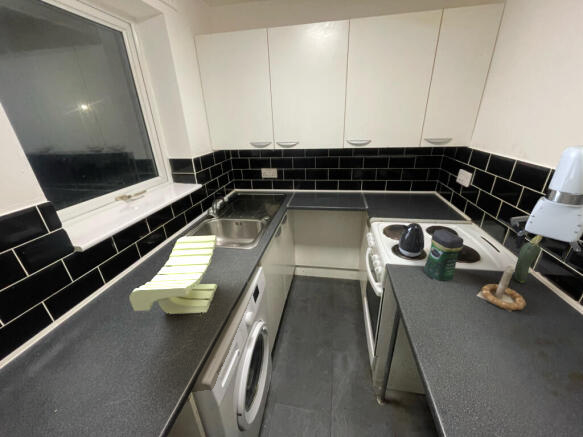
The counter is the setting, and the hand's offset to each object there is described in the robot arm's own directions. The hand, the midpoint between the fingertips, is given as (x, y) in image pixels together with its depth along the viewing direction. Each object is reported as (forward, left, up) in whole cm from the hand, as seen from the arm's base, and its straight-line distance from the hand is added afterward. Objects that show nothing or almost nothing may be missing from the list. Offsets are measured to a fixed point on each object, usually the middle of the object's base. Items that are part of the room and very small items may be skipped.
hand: (541, 253), depth 65 cm
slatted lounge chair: (+70, +84, -21) cm, 111 cm away
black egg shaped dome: (+38, -4, -21) cm, 43 cm away
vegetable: (+4, -17, -21) cm, 27 cm away
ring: (+4, +1, -18) cm, 19 cm away
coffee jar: (+23, +2, -21) cm, 31 cm away
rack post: (+5, 0, -21) cm, 21 cm away
